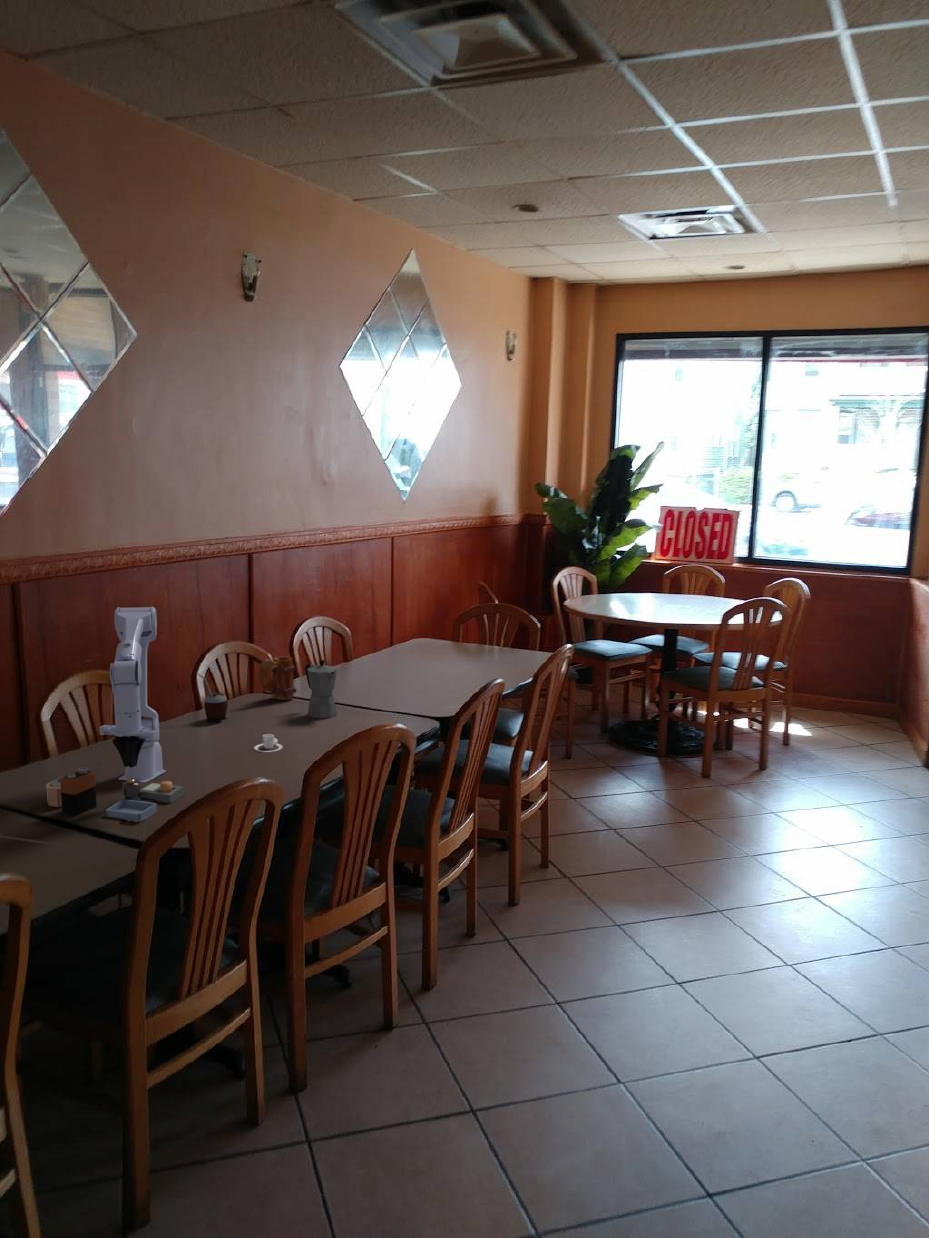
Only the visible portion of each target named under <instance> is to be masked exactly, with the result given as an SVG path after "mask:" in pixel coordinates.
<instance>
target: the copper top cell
mask: <svg viewBox="0 0 929 1238" xmlns="http://www.w3.org/2000/svg"><path fill="white" fill-rule="evenodd" d="M121 786H122V787H121V788H122V800H123V799H127V800H134V801H142V798H141V791H140V789H141V782H140V781H138V780H135V779H128V780H124V781H123V782H122V785H121Z"/></svg>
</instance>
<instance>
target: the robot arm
mask: <svg viewBox="0 0 929 1238" xmlns="http://www.w3.org/2000/svg"><path fill="white" fill-rule="evenodd" d="M157 615H158V614H157V609H156V608H155V607H154V606H149V607H148V606H147V607H146V606H145V607H119V606H117V607H116V609H115V610H114V616H113V617H114V618H113V619H114V628H115V631H116V634H117V638H118V639H119V641H120V642H119V643H117V647H116V652H115V658H114V662H113V663H110V665H109V666H110V667H109V679H110V683H111V690H112V694H113V704H114V721H115V724H104V725H101V726H99V735H100V736H105V735H108V736H115V737H114V738H113V739H112V744H113V745H114V747H115V748H116V750H117V751H118V753H119V755H120V758H121V761H122V764H123V767H124V768H125V769H124V771H125V774H124V775H122V776H120V777H119V778H118V779H117V780H119V781H120V780H121V781H127V780H128V779H135V780H138V781H140V783H143V784H144V783H147V782H149V781H151V780H153V779H154V780H155V779H156V778H157V777H159V776H161V775H163V774H165V773H166V772H167V771H166V769H163V751H162V750H163V749H162V747H161V744H160V742H159V740H160V721H159V714H158V712H157V711H156V710H155V709H153V708H152V707H150V706H148V649H149V645H150V643H151V642H153V641H155V640H156V637H157V635H158V634H157V633H158V632H157V629H158V628H157V626H158V622H157V620H158V619H157V618H158V616H157Z"/></svg>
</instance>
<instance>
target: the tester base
mask: <svg viewBox="0 0 929 1238" xmlns="http://www.w3.org/2000/svg"><path fill="white" fill-rule="evenodd" d="M140 791H141V799H143V798H144V799H149V800H154V801H153V802H159V803H167V804H171V803H173V802H175V801H177V800H178V799H180V798H181V797H182V796H185V786H181V785H175V784H174V785H173V784H172V791H171V792H169V793H167V792H160V782H159V783H157V782H151V783H149V784H147V785H146V786H144V787H142V788H140Z"/></svg>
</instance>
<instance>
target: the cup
mask: <svg viewBox="0 0 929 1238" xmlns="http://www.w3.org/2000/svg"><path fill="white" fill-rule="evenodd" d="M52 781H53V780H52ZM52 781H50V782H47V783H46V796H47V799H46V801H47V805H48V806H49V807H55V808H62V800H61V788H55V787H53V786H52Z"/></svg>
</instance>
